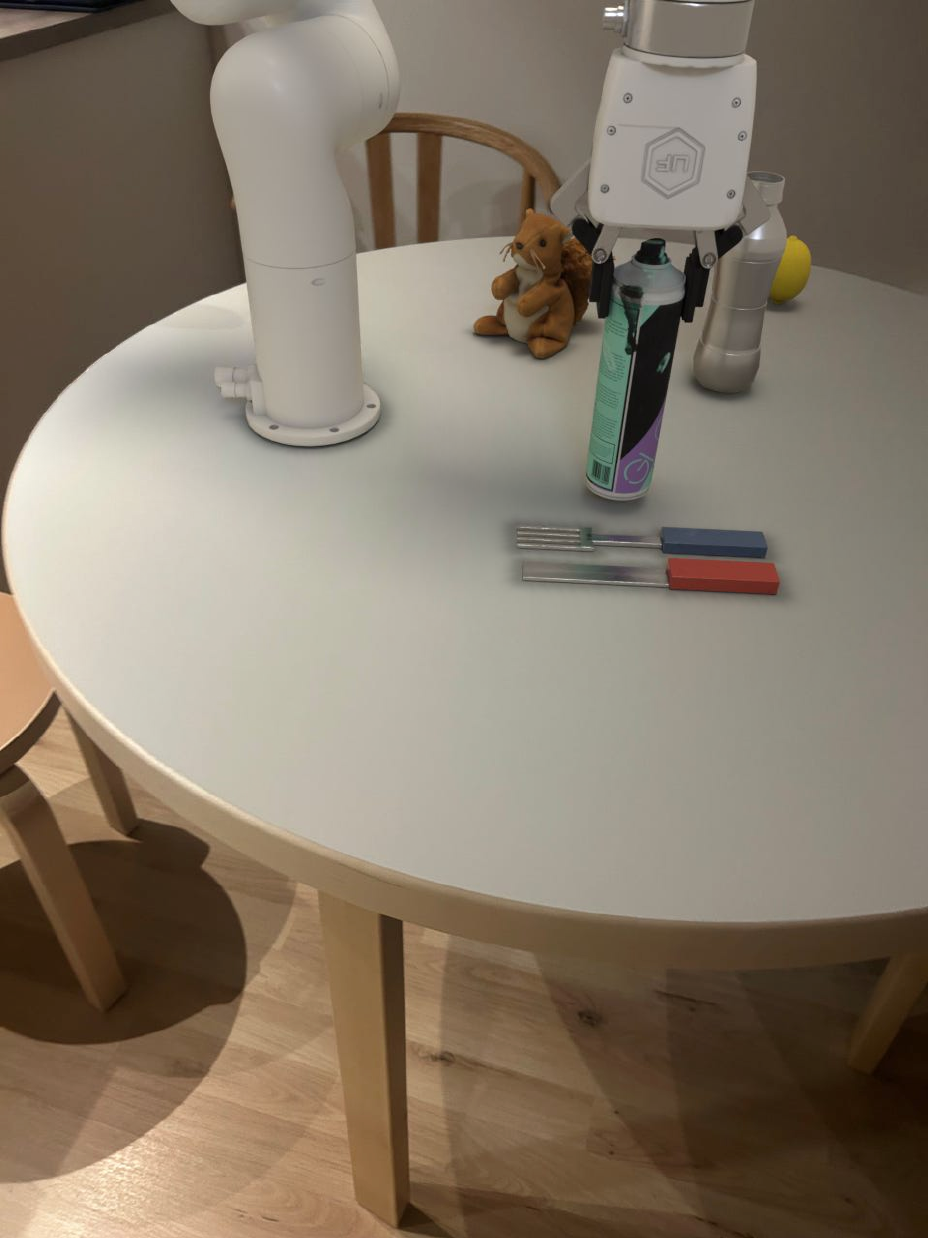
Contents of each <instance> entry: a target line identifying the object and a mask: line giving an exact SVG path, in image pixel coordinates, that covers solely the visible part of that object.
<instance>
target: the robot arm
mask: <svg viewBox="0 0 928 1238" xmlns="http://www.w3.org/2000/svg"><path fill="white" fill-rule="evenodd" d="M169 1H170V2H171V4H172V5H173V6H174V7H175V9H176V10H177V11H178V12H179V13H180V14H182V15H183V16H184V17H186V18H187V19H189V20H190V21H191V22H194V23H197V24H199V25H205V26H222V25H223V26H224V25H230V24H235V23H240V22H244V21H250V20H254V19H257V18H258V19H259V18H263V17H264V18H265V20H266V21H267V23H268V25H269V28H265V29H262V30H258V31H256V32H252V33H250V34H248V35H245V36H244V37H243V38H241V39H239V40H238V41H236V42H235V43H234V44H232V46H230V47H229V48H228V49H227V50H226V51H225V52H224V54H223V56H221V58H220V59H219V61H218V62H217V64H216V66H215V69H214V71H213V75H212V78H211V81H210V82H211V83H210V90H209V103H210V113H211V118H212V123H213V126H214V130H215V133H216V134H215V135H216V137H217V139H218V143H219V146H220V150H221V153H222V156H223V159H224V163H225V166H226V169H227V172H228V176H229V181H230V184H231V189H232V194H233V199H234V205H235V210H236V216H237V224H238V231H239V238H240V239H239V240H240V247H241V252H242V258H243V259H242V260H243V265H244V266H243V267H244V274H245V282H246V288H247V298H248V306H249V313H250V322H251V329H252V338H253V345H254V353H255V362H256V364H248V366H247V367H236V366H228V365H227V366H226V365H225V366H224V365H222V366H221V365H216V366H215V367H214V370H213V371H214V372H213V381H214V385H215V386H216V387H217V388H220V393H221V396H222V398H234V399H235V398H246V400H247V401H246V403H245V416H246V421H247V423H248V426H249V427H250V428H251V430H253V431H254V433H256V434H258V435H259V436H260V437H263V438H265V439H267V440H269V441H272V442H275V443H279V444H283V445H287V446H295V447H321V446H322V447H323V446H328V445H335V444H339V443H344V442H347V441H351V440H353V439H355V438H358V437H360V436H362V435H363V434H365V433H367V432H368V431H370V429H372V428H373V427H374V426H375V425H376V423H378V421H379V419H380V416H381V400H380V397H379V395H378V393H377V392H376V391H375V390H374V389H372V387H370V386H369V385H367V384H366V383H364V382H363V380H364V379H363V359H362V343H361V342H362V340H361V323H360V322H361V320H360V304H359V303H360V302H359V301H360V299H359V282H358V281H359V280H358V265H357V246H356V229H355V221H354V214H353V213H354V212H353V208H352V204H351V201H350V197H349V195H348V193H347V189H346V187H345V184H344V182H343V180H342V177H341V175H340V172H339V168H338V164H337V156H338V155H339V154H340V153H342V152H343V151H345V150H348V149H350V148H352V147H355V146H357V145H359V144H362V143H363V142H364V143H365V141H367V140H369V139H372V138H374V137H375V136H377V135H378V134H380V133H381V132H382V131H383V130H384V129H386V127H387V126H388V125H389V124H390V122H391V121H392V119H393V117H394V116H395V114H396V111H397V108H398V106H399V102H400V96H401V85H402V84H401V74H400V67H399V63H398V58H397V56H396V52H395V49H394V46H393V44H392V41H391V38H390V35H389V34H388V32H387V29H386V27H385V25H384V22H383V21H382V19H381V17H380V14H379V12H378V10H377V8H376V6H375V3H374V1H373V0H169ZM755 2H756V0H622V1H617V2H616V4H612V3H611V4H609V3H605V4H604V5H603V13H602V26H601V27H602V28H601V29H602V30H603V31H604V30H607V31H613V33H619V36H620V38H622V39H623V45H622V46H620V47H617V48H614V49H613V50H612V53H611V56H610V58H609V62H608V66H607V70H606V73H605V76H604V80H603V85H602V91H601V95H600V99H599V103H598V107H597V111H596V117H595V125H594V131H593V136H592V143H591V150H590V156H589V157H588V159H586V161H584V163H582V164H581V166H580V167H579V168H578V169H577V170H576V171H575V172H574V173H573V174H572V175H571V176H570V177H569V178H568V179H567V180H566V181H565V182H564V184H562V185H561V187H559V188H558V189H557V190H556V191H555V192H554V194H553V195H552V196H551V197H550V200H549V206H550V207H549V209H550V211H551V212H552V214H553V215H555V217H556V218H557V219H558V221H559V222H560V223H561V224H562V225H563V226H566V227H568V228H569V229H570V230H571V231H572V233H573V235H574V236H573V237H576V239H577V240H578V241H579V242H580V243H581V244H582V246H583V247H584V248H585V249H586V250H587V252H588V253H589V254H590V255H591V256H592V259H593V261H592V269H591V278H590V287H589V298H588V302H589V303H595V307H596V313H597V319H599V320H600V319H602V320H605V318H606V317H608V315H609V308H610V300H611V292H612V284H613V277H614V268H615V267H616V266H615V260H613V256H614V255H613V254H614V253H613V249H614V247H615V245H616V243H617V241H618V238H619V236H620V234H621V232H622V230H623V228H630V229H631V228H632V229H651V230H672V231H673V230H675V231H692V236H693V242H694V247H693V248H692V249H691V252H689V254H688V256H686V257H685V262H684V269H683V273H684V274H685V276H686V282H685V289H686V290H685V296H684V301H683V307H682V312H681V318H680V319H681V321H683V322H684V323H687V324H692V323H693V322H694V317H695V311H696V308H703V307H704V303H705V298H706V293H707V287H708V282H709V279H710V278H709V277H710V272H711V269H712V268H714V266H715V265H716V264H717V262H718V259H720V258H721V257H722V256H723V255H725V254H726V253H727V252H728V251H730V250H731V249H732V248H733V247H735V246H736V245H737V244H738V243H739V242H740V241H741V240H742V238H743V237H745V236H746V235H749V234H750V233H752V232H753V231H754V230H756V229H757V228H759V227H760V226H761V225H763V224H764V223H766V222H767V221H768V220H769V218H770V216H771V213H770V210H769V209H768V207H767V205H766V204H765V202H764V200H763V199H762V197H761V196H760V194H759V192H758V191H757V189H756V187H755V186H754V184H753V182H752V181H751V179H750V178H749V176H748V174H747V173H748V167H749V159H750V153H751V146H752V138H753V129H754V120H755V110H756V99H757V98H756V97H757V82H758V81H757V79H758V78H757V77H758V69H757V67H758V66H757V65H758V64H757V60H756V59H754V58H753V57H752V56H750V55H748V54H746V50H747V43H748V38H749V34H750V33H749V32H750V28H751V23H752V17H753V11H754V7H755ZM586 193H587V205H588V210H589V213H590V215H591V218H593V219H594V220H595V221H597V224H596V226H595V224H594V223H593V222H592V221H591V219H589V217H588V216H587V215H586V214H585V213H583V212H582V211H581V210H580V208H579V207H578V206H577V205H576V204H577V203H578V201H580V199H581V198H583V196H584V195H585V194H586ZM741 203H742V204H743V209H742V211H741V212H740V213H739V211H740V207H741Z"/></svg>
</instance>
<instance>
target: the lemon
mask: <svg viewBox="0 0 928 1238" xmlns="http://www.w3.org/2000/svg"><path fill="white" fill-rule="evenodd" d="M811 271H812V255H811V251H810V249H809V248H808V246H807V244H806V243H805V242H803V241H802V240H801V239H798V237H797V236H796V235H790V236H789V237H787V244H786V248H785V251H784V254H783V256H782V259H781V262H780V264H779V267H778V270H777V272H776V275H775V278H774V281H773V284H772V287H771V291H770V295H769V298H768V299H771V300H772V301H773V304H775V305H781V304H783V303H784V302H786V301H787V302H788V301H790V300H793V299H794V298H796V297H797V296H799V295H800V294H801V293H802V292H803V290H804V289H805V288H806V286H807V283H808V281H809V278H810V275H811Z"/></svg>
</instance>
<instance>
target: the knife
mask: <svg viewBox="0 0 928 1238" xmlns="http://www.w3.org/2000/svg"><path fill="white" fill-rule="evenodd" d="M522 581H532V582H534V581H535V582H552V583H571V584H572V583H573V584H574V583H575V584H591V585H593V584H594V585H615V586H630V587H631V586H632V587H633V586H634V587H650V588H651V587H653V588H655V587H656V588H669V589H670V590H682V591H683V590H684V591H705V592H706V591H707V592H726V593H745V594H763V595H764V594H766V595H777V593H778V590H779V587H780V585H781V581H780V578H779V574H778V572H777V568H776V566H775V563H774V562H763V561H745V560H744V561H742V560H741V561H740V560H723V559H722V560H721V559H703V558H702V559H701V558H683V557H682V558H681V557H668V559H667V564H666V567H664V568H663V567H646V566H645V567H643V566H625V565H624V566H623V565H603V564H586V563H585V564H584V563H583V564H581V563H562V562H545V561H543V562H541V561H522Z"/></svg>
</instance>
